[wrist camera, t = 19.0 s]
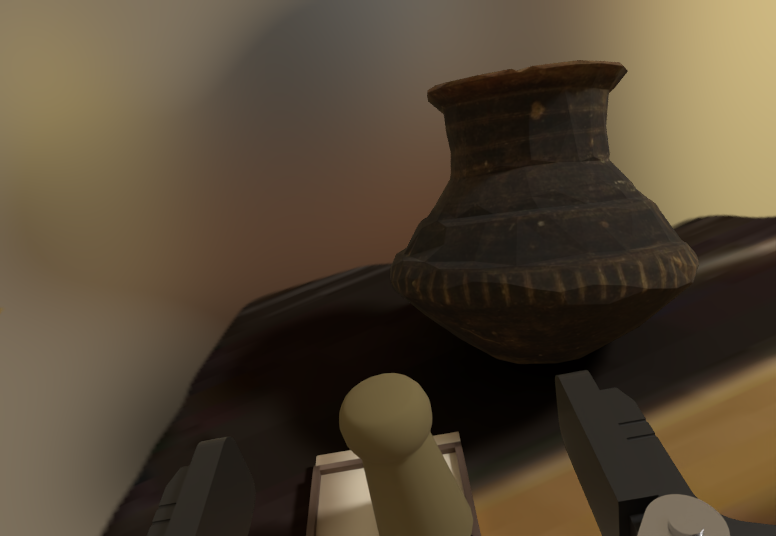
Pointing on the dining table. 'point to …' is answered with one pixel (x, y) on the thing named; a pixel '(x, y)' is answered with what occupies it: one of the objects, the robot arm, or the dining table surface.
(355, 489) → the stamping board
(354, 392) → the cork
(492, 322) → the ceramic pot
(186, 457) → the dining table surface
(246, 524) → the robot arm
